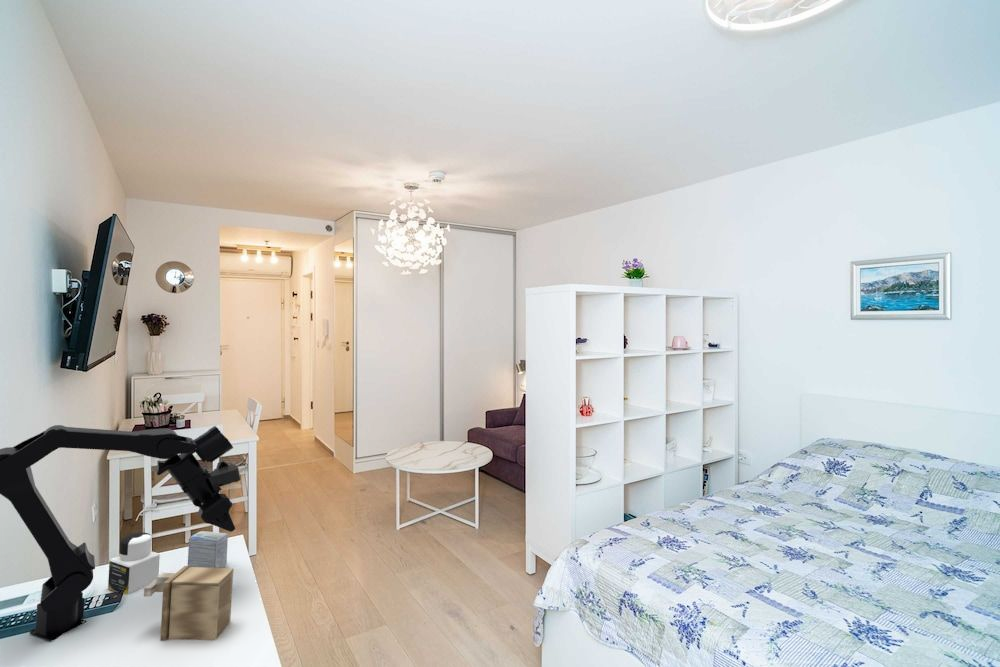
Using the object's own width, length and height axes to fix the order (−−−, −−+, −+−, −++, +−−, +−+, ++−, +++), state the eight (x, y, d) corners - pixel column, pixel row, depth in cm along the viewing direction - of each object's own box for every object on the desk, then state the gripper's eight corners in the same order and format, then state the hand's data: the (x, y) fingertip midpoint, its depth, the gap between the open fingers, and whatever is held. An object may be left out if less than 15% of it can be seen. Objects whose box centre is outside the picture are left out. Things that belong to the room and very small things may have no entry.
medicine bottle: (107, 589, 113) (110, 538, 113) (139, 575, 120) (141, 527, 120) (127, 597, 111) (130, 544, 111) (158, 582, 117) (161, 533, 117)
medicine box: (227, 565, 127) (228, 533, 127) (215, 574, 123) (217, 540, 123) (199, 562, 128) (200, 530, 128) (186, 571, 123) (188, 537, 123)
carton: (168, 641, 96) (171, 581, 96) (186, 623, 102) (189, 567, 102) (214, 643, 97) (218, 583, 97) (230, 624, 103) (233, 568, 103)
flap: (138, 639, 96) (141, 582, 96) (161, 618, 102) (164, 565, 102) (165, 640, 96) (168, 582, 96) (186, 619, 103) (189, 565, 103)
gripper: (233, 462, 110) (270, 512, 115) (216, 445, 124) (249, 490, 129) (183, 496, 104) (225, 547, 109) (171, 474, 118) (208, 520, 123)
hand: (228, 523), depth 118 cm, fingers open, 9 cm apart
